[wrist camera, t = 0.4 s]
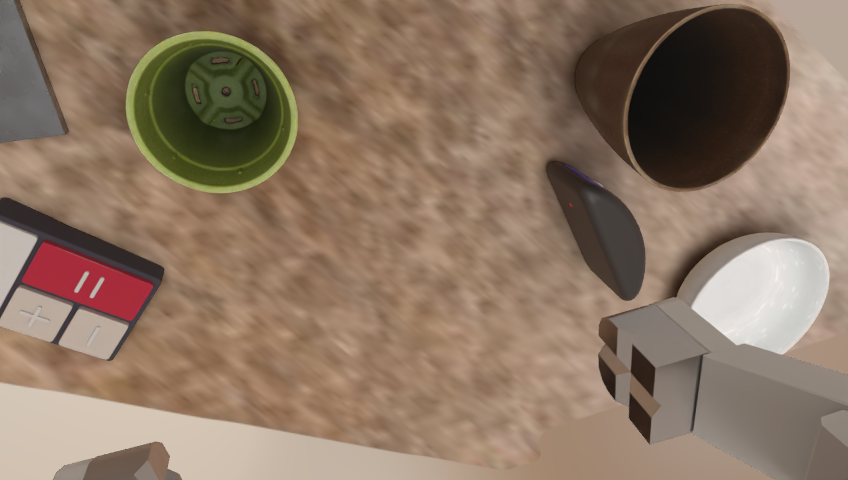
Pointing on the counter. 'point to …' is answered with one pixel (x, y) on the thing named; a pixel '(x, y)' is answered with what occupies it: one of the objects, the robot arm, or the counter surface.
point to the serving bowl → (759, 289)
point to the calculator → (69, 283)
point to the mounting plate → (24, 82)
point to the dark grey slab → (601, 229)
